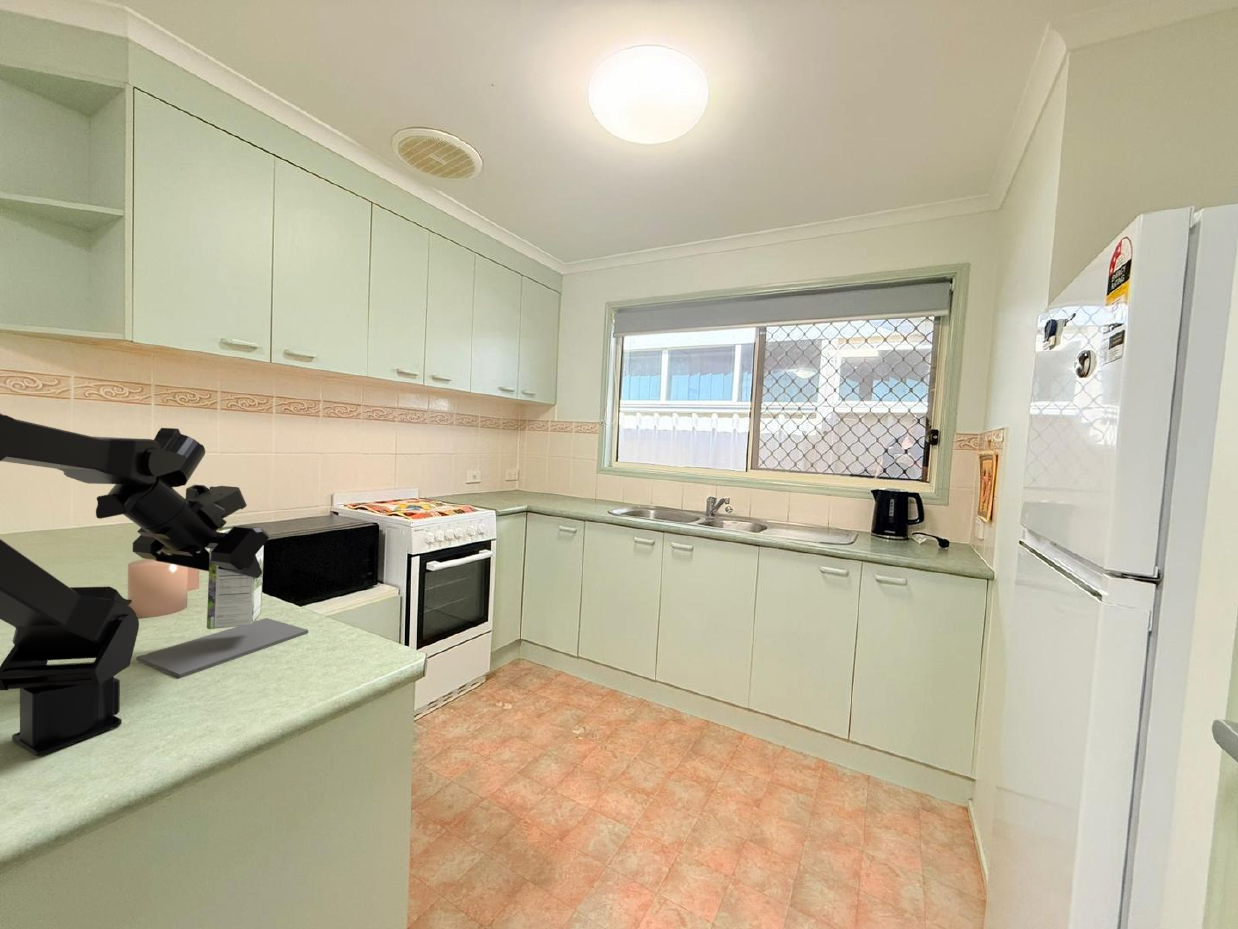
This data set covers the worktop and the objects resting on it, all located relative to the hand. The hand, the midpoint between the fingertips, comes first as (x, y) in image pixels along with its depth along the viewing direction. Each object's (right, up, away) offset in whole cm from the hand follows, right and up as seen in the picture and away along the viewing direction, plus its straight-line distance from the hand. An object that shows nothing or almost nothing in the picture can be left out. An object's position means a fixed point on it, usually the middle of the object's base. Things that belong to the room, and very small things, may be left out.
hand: (239, 572), depth 77 cm
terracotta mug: (-24, -10, +12) cm, 29 cm away
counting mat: (-1, -11, -1) cm, 11 cm away
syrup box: (0, -8, 0) cm, 8 cm away
